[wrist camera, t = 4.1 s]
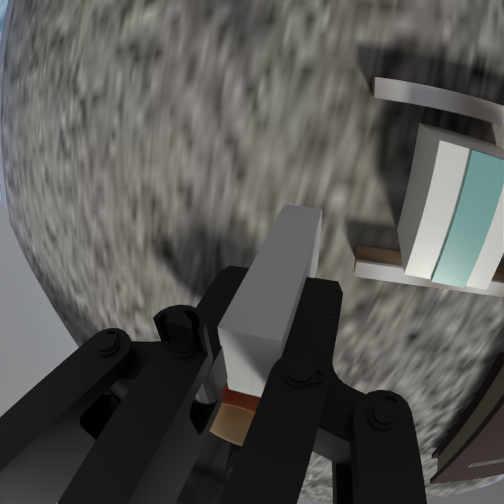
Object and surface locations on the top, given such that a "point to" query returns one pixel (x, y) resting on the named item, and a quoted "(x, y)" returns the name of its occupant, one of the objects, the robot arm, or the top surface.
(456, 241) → the block
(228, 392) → the mug
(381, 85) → the rail board
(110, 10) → the top surface
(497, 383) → the book
